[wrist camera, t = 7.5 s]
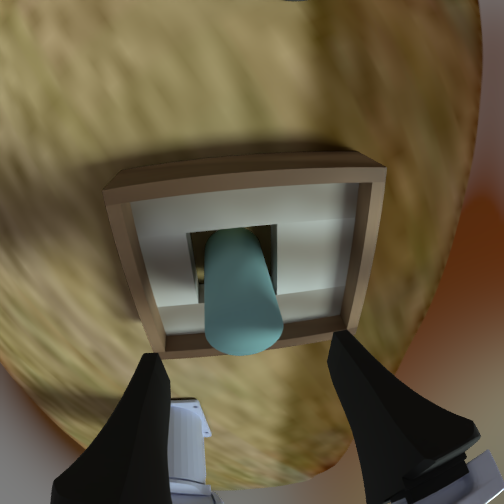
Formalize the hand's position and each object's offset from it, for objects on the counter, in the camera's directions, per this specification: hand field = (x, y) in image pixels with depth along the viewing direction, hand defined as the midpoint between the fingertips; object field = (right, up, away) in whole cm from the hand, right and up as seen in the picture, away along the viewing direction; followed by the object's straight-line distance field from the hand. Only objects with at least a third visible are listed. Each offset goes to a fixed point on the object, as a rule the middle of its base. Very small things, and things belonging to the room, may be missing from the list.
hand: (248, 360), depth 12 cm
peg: (-1, +4, +8) cm, 9 cm away
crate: (0, +5, +8) cm, 9 cm away
